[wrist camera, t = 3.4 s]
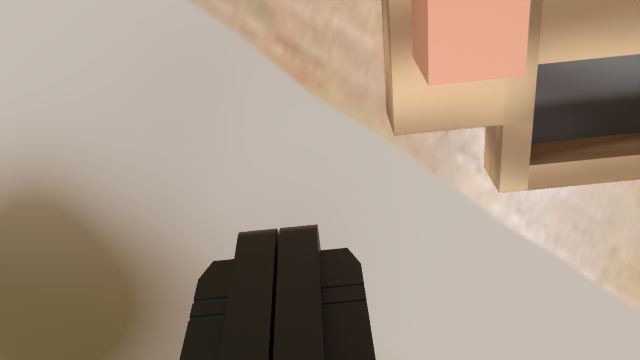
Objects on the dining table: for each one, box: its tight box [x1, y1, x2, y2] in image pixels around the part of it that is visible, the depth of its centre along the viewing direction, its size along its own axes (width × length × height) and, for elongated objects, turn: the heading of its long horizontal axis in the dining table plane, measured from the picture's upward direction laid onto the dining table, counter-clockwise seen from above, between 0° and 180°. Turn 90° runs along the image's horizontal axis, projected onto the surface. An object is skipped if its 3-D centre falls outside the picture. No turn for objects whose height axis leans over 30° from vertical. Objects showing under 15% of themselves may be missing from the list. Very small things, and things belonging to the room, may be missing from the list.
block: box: [411, 0, 531, 86], centre depth 26 cm, size 4×4×4 cm
